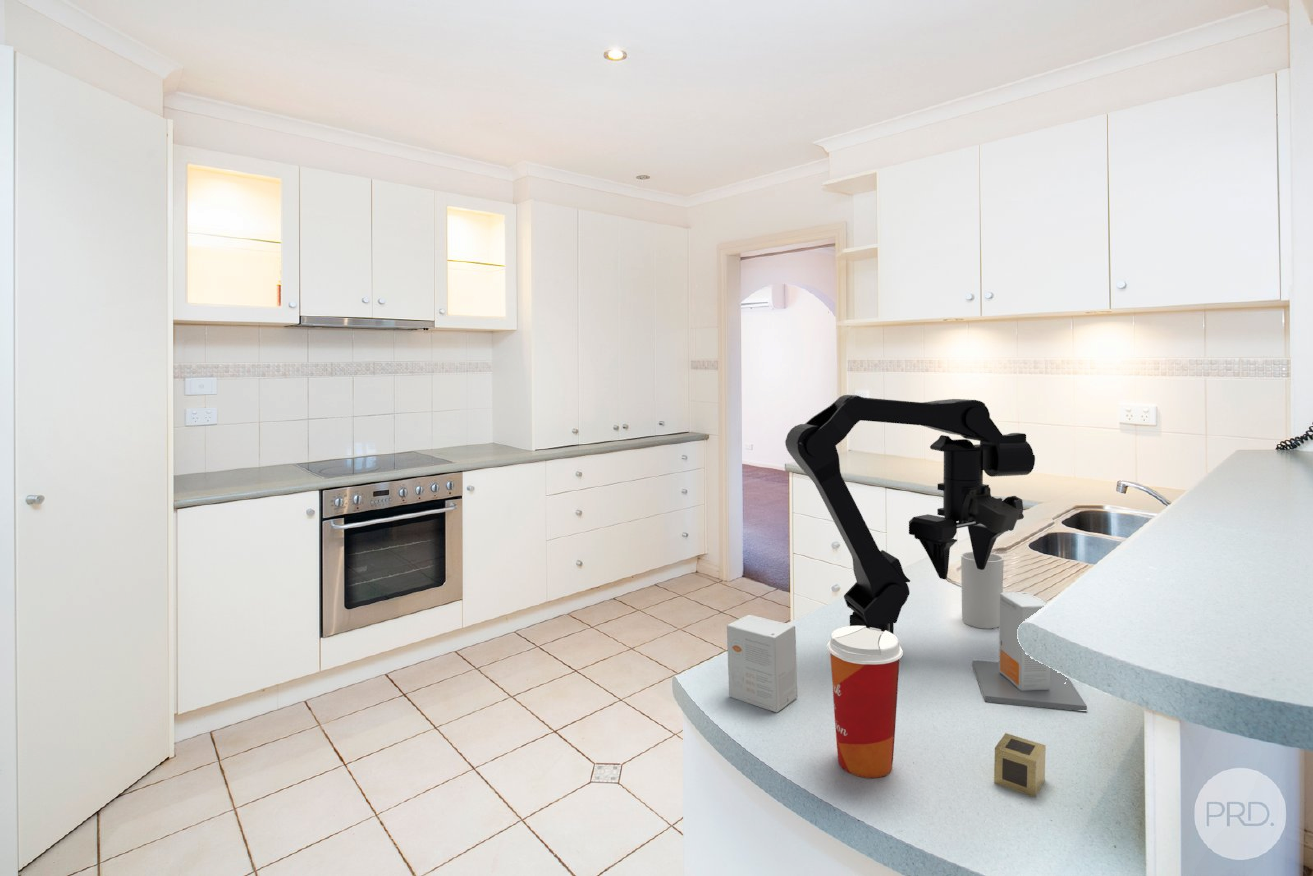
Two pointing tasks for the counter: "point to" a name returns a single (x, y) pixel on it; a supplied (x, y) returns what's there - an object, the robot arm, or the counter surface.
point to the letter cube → (1019, 764)
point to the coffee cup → (865, 698)
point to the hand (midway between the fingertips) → (962, 574)
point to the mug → (981, 591)
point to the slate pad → (1006, 692)
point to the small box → (762, 662)
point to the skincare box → (1011, 654)
